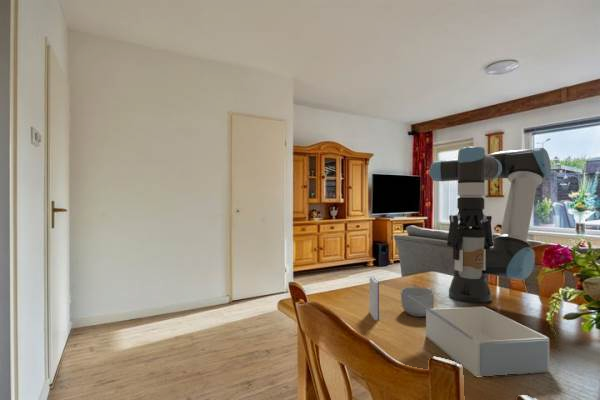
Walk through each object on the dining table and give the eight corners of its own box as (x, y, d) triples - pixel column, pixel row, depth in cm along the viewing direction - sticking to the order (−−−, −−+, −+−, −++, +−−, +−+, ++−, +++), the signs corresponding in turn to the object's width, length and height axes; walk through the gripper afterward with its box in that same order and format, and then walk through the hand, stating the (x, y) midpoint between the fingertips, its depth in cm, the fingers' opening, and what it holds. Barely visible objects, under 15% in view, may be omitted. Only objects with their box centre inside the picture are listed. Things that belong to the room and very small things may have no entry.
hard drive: (373, 311, 116) (373, 276, 116) (379, 320, 108) (379, 282, 108) (369, 311, 116) (369, 276, 116) (374, 320, 108) (374, 282, 107)
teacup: (436, 320, 108) (436, 296, 108) (402, 318, 110) (402, 294, 110) (428, 306, 121) (429, 284, 121) (398, 304, 124) (398, 283, 124)
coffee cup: (471, 280, 98) (472, 230, 98) (449, 274, 106) (449, 228, 106) (491, 278, 101) (491, 229, 101) (468, 273, 109) (468, 227, 109)
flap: (408, 294, 93) (407, 295, 93) (448, 321, 73) (447, 322, 73) (427, 308, 94) (427, 309, 94) (473, 338, 74) (472, 339, 74)
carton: (484, 332, 98) (484, 305, 98) (554, 374, 75) (554, 339, 75) (424, 335, 96) (425, 308, 96) (478, 380, 72) (478, 343, 72)
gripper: (488, 197, 109) (488, 266, 109) (434, 196, 105) (433, 268, 105) (507, 197, 102) (507, 271, 102) (450, 196, 97) (449, 273, 97)
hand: (469, 269), depth 103 cm, fingers closed on coffee cup, 7 cm apart
